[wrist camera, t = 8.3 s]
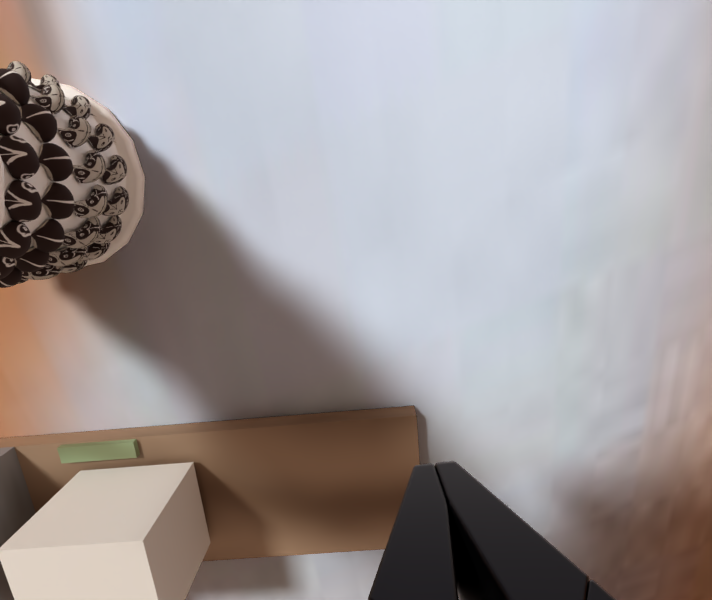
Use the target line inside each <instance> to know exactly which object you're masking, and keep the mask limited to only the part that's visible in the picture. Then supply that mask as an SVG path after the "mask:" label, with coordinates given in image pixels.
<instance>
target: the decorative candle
mask: <svg viewBox="0 0 712 600" xmlns="http://www.w3.org/2000/svg"><path fill="white" fill-rule="evenodd" d="M144 190H145V176H144V173H143V169H142V166H141V163H140V160H139V157H138V154H137V151H136V148H135V145H134V142H133V140H132V139H131V137H130V136H129V135H128V134H127V132H126V131H125V130H124V128H123V127H122V126H121V124H120V123H119V122H118V121H117V119H116V118H115V117H114V115H113V114H112V113H111V112H110V110H109V109H108V108H106V107H105V106H103V105H102V104H100V103H98V102H97V101H95V100H94V99H92V98H91V97H89V96H87V95H86V94H84V93H83V92H81V91H80V90H78V89H76V88H75V87H72V86H70V85H65V84H60V83H59V82H58V80H57V79H56V78H55V77H53V76H52V75H48V74H46V75H44V76H43V77H42V78H41V80H38V79H33V78H31V73H30V71H29V69H28V68H27V67H26V66H25V65H24V64H22V63H21V62H18V61H13V62H11V63H10V64H9V66H8V68H7V69H0V287H1V288H5V287H11V286H14V285H16V284H19V283H23V282H25V281H27V280H28V279H33V280H43V279H49V278H52V277H54V276H56V275H58V274H59V273H71V272H75V271H78V270H80V269H82V268H83V267H85V266H87V265H92V264H96V263H101V262H104V261H105V260H107V259H108V258H109V257H110V256H112V255H113V254H114V253H116V252H117V251H118V250H120V249H121V248H122V247H123V246H125V245H126V244H127V243H129V241H130V239H131V237H132V235H133V233H134V231H135V229H136V227H137V225H138V223H139V221H140V219H141V217H142V215H143V209H144Z"/></svg>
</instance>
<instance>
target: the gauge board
mask: <svg viewBox="0 0 712 600" xmlns="http://www.w3.org/2000/svg"><path fill="white" fill-rule="evenodd" d="M189 462H193V463H194V467H195V472H196V477H197V482H198V486H199V491H200V496H201V500H202V505H203V510H204V514H205V519H206V524H207V528H208V533H209V538H210V545H209V547H208V549H207V551H206V554H205V556H204V558H203V561H213V560H228V559H243V558H258V557H273V556H288V555H303V554H318V553H333V552H348V551H363V550H377V549H385V548H386V545H387V542H388V539H389V536H390V533H391V531H392V528H393V525H394V522H395V519H396V516H397V513H398V510H399V507H400V504H401V502H402V499H403V496H404V493H405V490H406V487H407V484H408V481H409V478H410V476H411V473H412V470H413V467H414V466H415V465H420V462H419V446H418V431H417V415H416V411H415V408H414V406H404V407H391V408H378V409H366V410H353V411H340V412H328V413H315V414H302V415H290V416H277V417H264V418H251V419H239V420H226V421H213V422H201V423H188V424H175V425H163V426H150V427H137V428H124V429H112V430H99V431H86V432H74V433H61V434H48V435H36V436H23V437H10V438H0V547H1V546H2V545H3V544H4V543H5V542H6V541H7V540H8V539H10V538H11V537H12V536H13V535H14V534H15V533H16V532H17V531H18V530H19V529H20V528H21V527H22V526H23V525H24V524H25V523H26V522H27V521H28V520H29V519H30V518H31V517H32V516H34V515H35V514H36V513H37V512H38V511H39V510H40V509H41V508H42V507H43V506H44V505H45V504H46V503H47V502H48V501H49V500H50V499H51V498H52V497H53V496H54V495H55V494H56V493H57V492H59V491H60V490H61V489H62V488H63V487H64V486H65V485H66V484H67V483H68V482H69V481H70V480H71V479H72V478H73V477H74V476H75V475H76V474H77V473H78V472H79V471H83V470H96V469H109V468H122V467H136V466H149V465H162V464H175V463H189ZM0 600H14V597H13V594H12V592H11V589H10V586H9V583H8V581H7V578H6V575H5V572H4V570H3V567H2V564H1V561H0Z"/></svg>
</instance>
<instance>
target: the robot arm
mask: <svg viewBox="0 0 712 600" xmlns="http://www.w3.org/2000/svg"><path fill="white" fill-rule="evenodd" d="M458 596H459V599H460V600H616V599H614V598H613V597H612V596H611V595H610V594H609V593H607V592H606V591H605V590H604V589H603V588H602V587H600V586H599V585H598V584H597V583H596V582H595V581H593V580H590V581H589V577H588V576H587V575H586V574H585V573H584V572H583V571H582V570H580V569H579V568H578V567H577V566H576V565H575V564H574V563H572V562H571V561H570V560H569V559H568V558H567V557H565V556H564V555H563V554H562V553H561V552H560V551H558V550H557V549H556V548H555V547H554V546H553V545H551V544H550V543H549V542H548V541H547V540H546V539H544V538H543V537H542V536H541V535H540V534H539V533H538V532H536V531H535V530H534V529H533V528H532V527H531V526H529V525H528V524H527V523H526V522H525V521H524V520H522V519H521V518H520V517H519V516H518V515H517V514H515V513H514V512H513V511H512V510H511V509H510V508H509V507H507V506H506V505H505V504H504V503H503V502H502V501H500V500H499V499H498V498H497V497H496V496H495V495H493V494H492V493H491V492H490V491H489V490H488V489H486V488H485V487H484V486H483V485H482V484H481V483H480V482H478V481H477V480H476V479H475V478H474V477H473V476H471V475H470V474H469V473H468V472H467V471H466V470H464V469H463V468H462V467H461V466H460V465H459V464H457V463H456V462H454V461H450V462H441V463H436V465H435V466H434V465H433V464H422V465H415V466H414V467H413V470H412V473H411V476H410V478H409V481H408V484H407V487H406V490H405V493H404V496H403V499H402V502H401V504H400V507H399V510H398V513H397V516H396V519H395V522H394V525H393V528H392V531H391V533H390V536H389V539H388V542H387V545H386V548H385V551H384V554H383V557H382V559H381V562H380V565H379V568H378V571H377V574H376V577H375V580H374V583H373V586H372V588H371V591H370V594H369V597H368V600H459V599H458Z"/></svg>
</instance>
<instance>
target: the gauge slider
mask: <svg viewBox="0 0 712 600" xmlns="http://www.w3.org/2000/svg"><path fill="white" fill-rule="evenodd" d="M209 545H210V538H209V533H208V528H207V524H206V519H205V514H204V510H203V505H202V500H201V496H200V491H199V486H198V482H197V477H196V472H195V467H194V463H193V462H189V463H175V464H162V465H149V466H136V467H122V468H109V469H96V470H83V471H79V472H78V473H77V474H76V475H75V476H74V477H73V478H72V479H71V480H70V481H69V482H68V483H67V484H66V485H65V486H64V487H63V488H62V489H61V490H60V491H59V492H57V493H56V494H55V495H54V496H53V497H52V498H51V499H50V500H49V501H48V502H47V503H46V504H45V505H44V506H43V507H42V508H41V509H40V510H39V511H38V512H37V513H36V514H35V515H34V516H32V517H31V518H30V519H29V520H28V521H27V522H26V523H25V524H24V525H23V526H22V527H21V528H20V529H19V530H18V531H17V532H16V533H15V534H14V535H13V536H12V537H11V538H10V539H8V540H7V541H6V542H5V543H4V544H3V545H2V546H1V547H0V561H1V564H2V567H3V570H4V572H5V575H6V578H7V581H8V583H9V586H10V589H11V592H12V594H13V597H14V600H185V599H186V597H187V594H188V592H189V590H190V588H191V585H192V583H193V581H194V579H195V576H196V574H197V572H198V570H199V567H200V565H201V563H202V561H203V558H204V556H205V554H206V551H207V549H208V547H209Z"/></svg>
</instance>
